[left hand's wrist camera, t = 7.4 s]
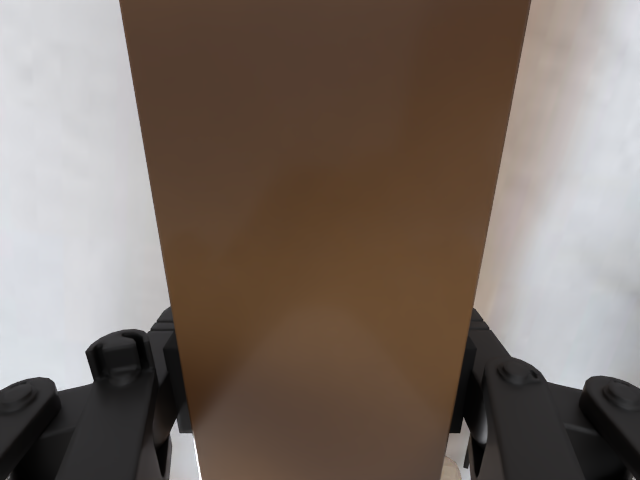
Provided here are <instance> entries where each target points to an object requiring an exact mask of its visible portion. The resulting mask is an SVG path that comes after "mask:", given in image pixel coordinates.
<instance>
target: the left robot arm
mask: <svg viewBox="0 0 640 480" xmlns="http://www.w3.org/2000/svg"><path fill="white" fill-rule="evenodd" d="M85 353H86V356H87V359H88V363H89V366H90V369H91V373H92V376H93V379H94V382H93V383H92V384H88V385H85V386H80V387H76V388H72V389H67V390H63V391H57V389H56V386H55V383H54V382H53V381H52V380H50V379H49V378H42V377H37V378H31V379H25V380H22V381H20V382H16V383H14V384H11V385H10V386H8V387H6V388H4V389H2V390H0V480H5V479H6V478H7V479H8V480H169V475H170V465H171V454H172V442H171V437H170V431H171V429H172V426H173V424H174V422H175V420H176V418H177V423H178V428H179V433H192V428H191V422H190V416H189V410H188V404H187V398H186V393H185V387H184V381H183V375H182V369H181V363H180V357H179V351H178V345H177V339H176V333H175V327H174V322H173V316H172V310H171V306H170V307H169V308H167V309H166V310H165V311H164V312H163V313H162V314H161V316H160V317H159V318H158V320H157V323H155V324H154V325H153V326H152V328H151V330H150V331H149V332H148V333H145V332H144V331H141V330H137V329H128V330H121V331H117V332H113V333H110V334H108V335H106V336H104V337H101V338H100V339H98V340H97V341H95V342H94V343H93V344H91V345H90V347H89V348H88V349H87V350H86V352H85ZM463 417H464V419H465V421H466V423H467V425H468V428H469V430H470V437H469V442H468V446H467V451H466V456H465V460H464V466H463V468H467V469H468V466H469V464H470V474H471V480H632V478H633V476H634V477H635V479H636V480H640V389H639V388H637V387H635V386H634V385H632V384H630V383H628V382H625V381H623V380H620V379H616V378H613V377H607V376H593V377H590V378H589V379H588V380H586V382H585V385H584V388H583V390H580V389H575V388H571V387H566V386H562V385H557V384H553V383H550V382H547V381H546V379H545V378H544V376H543V375H542V374H541V372H540V371H538V370H537V369H536V368H535V367H533V366H532V365H530V364H528V363H526V362H524V361H522V360H520V359H517V358H513V357H511V356H510V355H509V353H508V352H507V351H506V349H505V348H504V347H503V345H502V344H501V343H500V341H499V340H498V339H497V337H496V336H495V335H494V333H493V332H492V331H491V330H490V329H489V327H488V325H487V324H486V323H485V322H483V319H482V317H481V316H480V315H479V313H478V312H477V311H476V309H474V308H473V310H472V316H471V321H470V326H469V331H468V337H467V342H466V347H465V352H464V358H463V363H462V368H461V374H460V379H459V384H458V389H457V395H456V400H455V405H454V410H453V416H452V421H451V426H450V432H449V433H460V431H461V426H462V421H463Z"/></svg>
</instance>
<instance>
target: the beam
mask: <svg viewBox="0 0 640 480" xmlns="http://www.w3.org/2000/svg"><path fill="white" fill-rule="evenodd" d="M119 2H120V8H121V14H122V20H123V26H124V32H125V38H126V44H127V50H128V55H129V61H130V67H131V73H132V79H133V85H134V91H135V97H136V103H137V109H138V115H139V121H140V126H141V132H142V138H143V144H144V150H145V156H146V162H147V168H148V174H149V180H150V186H151V191H152V197H153V203H154V209H155V215H156V221H157V227H158V233H159V239H160V245H161V251H162V257H163V262H164V268H165V274H166V280H167V286H168V292H169V298H170V304H171V310H172V316H173V322H174V327H175V333H176V339H177V345H178V351H179V357H180V363H181V369H182V375H183V381H184V387H185V393H186V398H187V404H188V410H189V416H190V422H191V428H192V434H193V440H194V446H195V452H196V458H197V463H198V469H199V475H200V480H440V479H441V474H442V468H443V463H444V458H445V453H446V447H447V442H448V437H449V432H450V426H451V421H452V416H453V410H454V405H455V400H456V395H457V389H458V384H459V379H460V374H461V368H462V363H463V358H464V352H465V347H466V342H467V337H468V331H469V326H470V321H471V316H472V310H473V305H474V300H475V294H476V289H477V284H478V279H479V273H480V268H481V263H482V258H483V252H484V247H485V242H486V236H487V231H488V226H489V221H490V215H491V210H492V205H493V199H494V194H495V189H496V184H497V178H498V173H499V168H500V163H501V157H502V152H503V147H504V141H505V136H506V131H507V126H508V120H509V115H510V110H511V105H512V99H513V94H514V89H515V83H516V78H517V73H518V68H519V62H520V57H521V52H522V47H523V41H524V36H525V31H526V25H527V20H528V15H529V10H530V4H531V0H119Z"/></svg>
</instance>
